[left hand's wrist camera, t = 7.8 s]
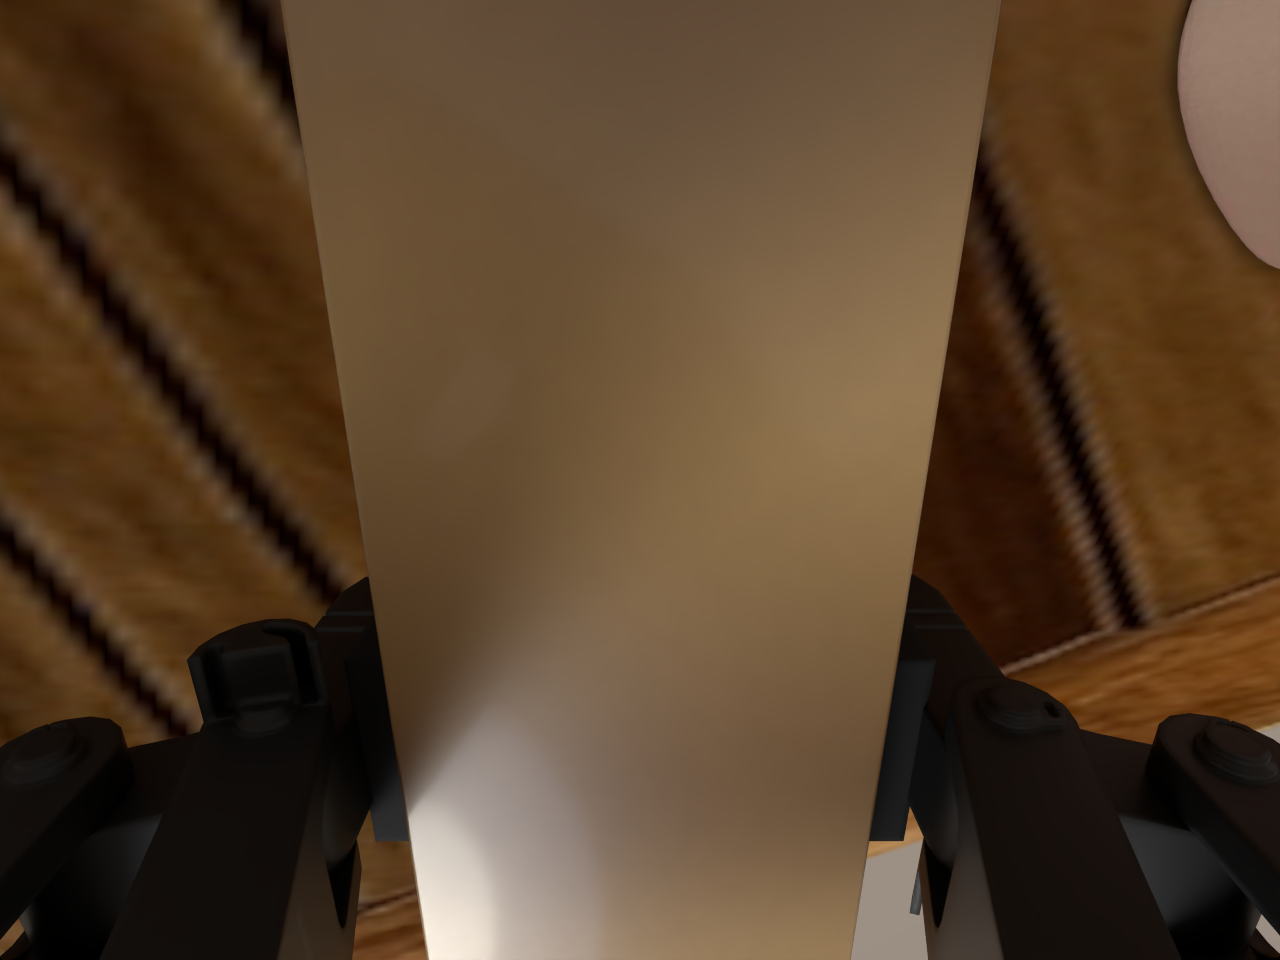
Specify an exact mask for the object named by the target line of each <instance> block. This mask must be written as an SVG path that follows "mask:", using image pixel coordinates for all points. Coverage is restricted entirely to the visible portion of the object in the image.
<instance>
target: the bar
mask: <svg viewBox="0 0 1280 960" xmlns="http://www.w3.org/2000/svg"><path fill="white" fill-rule="evenodd" d="M1001 1H1002V0H280V3H281V9H282V16H283V22H284V29H285V35H286V42H287V48H288V55H289V61H290V68H291V74H292V81H293V88H294V94H295V101H296V107H297V114H298V120H299V127H300V133H301V140H302V146H303V153H304V159H305V166H306V172H307V179H308V185H309V192H310V198H311V205H312V211H313V218H314V224H315V231H316V237H317V244H318V250H319V257H320V263H321V270H322V276H323V283H324V289H325V296H326V302H327V309H328V315H329V322H330V328H331V335H332V341H333V348H334V354H335V361H336V367H337V374H338V380H339V387H340V393H341V400H342V407H343V413H344V420H345V426H346V433H347V439H348V446H349V452H350V459H351V465H352V472H353V478H354V485H355V491H356V498H357V504H358V511H359V517H360V524H361V530H362V537H363V543H364V550H365V556H366V563H367V569H368V576H369V582H370V589H371V595H372V602H373V608H374V615H375V621H376V628H377V634H378V641H379V647H380V654H381V660H382V667H383V673H384V680H385V686H386V693H387V699H388V706H389V712H390V719H391V726H392V732H393V739H394V745H395V752H396V758H397V765H398V771H399V778H400V784H401V791H402V797H403V804H404V810H405V817H406V823H407V830H408V836H409V843H410V849H411V856H412V862H413V869H414V875H415V882H416V888H417V895H418V901H419V908H420V914H421V921H422V927H423V934H424V940H425V947H426V953H427V960H850V959H851V953H852V947H853V940H854V934H855V928H856V921H857V915H858V909H859V902H860V896H861V890H862V883H863V877H864V870H865V864H866V858H867V852H868V845H869V839H870V833H871V826H872V820H873V814H874V807H875V801H876V795H877V788H878V782H879V775H880V769H881V763H882V756H883V750H884V744H885V737H886V731H887V725H888V718H889V712H890V706H891V699H892V693H893V687H894V680H895V674H896V668H897V661H898V655H899V649H900V642H901V636H902V630H903V623H904V617H905V611H906V604H907V598H908V591H909V585H910V579H911V572H912V566H913V560H914V553H915V547H916V541H917V534H918V528H919V522H920V515H921V509H922V503H923V496H924V490H925V484H926V477H927V471H928V465H929V458H930V452H931V446H932V439H933V433H934V427H935V420H936V414H937V407H938V401H939V395H940V388H941V382H942V376H943V369H944V363H945V357H946V350H947V344H948V338H949V331H950V325H951V319H952V312H953V306H954V300H955V293H956V287H957V281H958V274H959V268H960V262H961V255H962V249H963V243H964V236H965V230H966V223H967V217H968V211H969V204H970V198H971V192H972V185H973V179H974V173H975V166H976V160H977V154H978V147H979V141H980V135H981V128H982V122H983V116H984V109H985V103H986V97H987V90H988V84H989V78H990V71H991V65H992V59H993V52H994V46H995V39H996V33H997V27H998V20H999V14H1000V8H1001Z"/></svg>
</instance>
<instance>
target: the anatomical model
mask: <svg viewBox="0 0 1280 960" xmlns="http://www.w3.org/2000/svg"><path fill="white" fill-rule="evenodd" d="M1178 95H1179V103H1180V110H1181V115H1182V119H1183V123H1184V127H1185V131H1186V135H1187V139H1188V142H1189V145H1190V148H1191V150H1192V153H1193V156H1194V158H1195V161H1196V164H1197V166H1198V169H1199V171H1200V173H1201V175H1202V177H1203V179H1204V181H1205V183H1206V185H1207V187H1208V189H1209V191H1210V192H1211V194H1212V196H1213V198H1214V200H1215V202H1216V204H1217V205H1218V207H1219V208H1220V210H1221V212H1222V213H1223V215H1224V216H1225V218H1226V220H1227V221H1228V223H1229V224H1230V226H1231V228H1232V229H1233V230H1234V231H1235V233H1236V234H1237V235H1238V237H1239V238H1240V239H1241V240H1242V242H1243V243H1244V244H1245V245H1246V247H1247V248H1248V249H1249V250H1250V251H1252V252H1253V253H1254V254H1255V255H1256V256H1257V257H1258V258H1259V259H1261V260H1262V261H1264V262H1265V263H1267V264H1269V265H1271V266H1273V267H1276V268H1278V269H1280V0H1192V2H1191V5H1190V8H1189V11H1188V14H1187V17H1186V20H1185V24H1184V28H1183V32H1182V37H1181V41H1180V48H1179V55H1178Z"/></svg>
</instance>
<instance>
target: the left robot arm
mask: <svg viewBox="0 0 1280 960" xmlns="http://www.w3.org/2000/svg"><path fill="white" fill-rule="evenodd" d="M187 662H188V666H189V670H190V673H191V677H192V681H193V684H194V688H195V692H196V695H197V699H198V703H199V706H200V710H201V714H202V717H203V721H204V723H203V725H202V727H201V730H200V732H197V733H194V734H190V735H186V736H183V737H178V738H173V739H168V740H164V741H159V742H154V743H149V744H144V745H140V746H135V747H130V748H128V747H127V744H126V741H125V738H124V735H123V732H122V729H121V727H120V726H118V725H117V724H116V723H115V722H113V721H112V720H111V719H105V718H98V717H83V718H75V719H67V720H62V721H58V722H54V723H51V724H50V725H48V724H47V725H44V726H41V727H38V728H35V729H33V730H31V731H30V732H28V733H26V734H24V735H22V736H20V737H18V738H16V739H14V740H12V741H10V742H7V743H6V744H5V745H3V746H2V747H0V939H1V938H2V937H3V936H4V935H5V934H6V932H7V931H8V930H9V929H10V928H11V926H12V925H13V924H14V923H15V922H16V920H17V919H18V918H19V919H20V921H21V923H22V926H23V928H24V930H25V931H24V932H23V933H22V934H21V936H20V937H19V938H18V939H17V940H16V942H15V943H14V944H13V945H12V946H11V947H10V948H9V949H8V950H7V951H6V952H5V953H3V954H2V955H1V956H0V960H352V954H353V945H354V936H355V926H356V917H357V908H358V899H359V889H360V880H361V871H362V867H361V860H360V854H359V848H358V843H357V836H358V834H359V832H360V829H361V827H362V825H363V823H364V820H365V818H366V816H367V814H368V811H369V809H370V812H371V817H372V823H373V828H374V834H375V840H376V841H409V836H408V830H407V823H406V817H405V810H404V804H403V797H402V791H401V784H400V778H399V771H398V765H397V758H396V752H395V745H394V739H393V732H392V726H391V719H390V712H389V706H388V699H387V693H386V686H385V680H384V673H383V667H382V660H381V654H380V647H379V641H378V634H377V628H376V621H375V615H374V608H373V602H372V595H371V589H370V582H369V577H365V578H363V579H362V580H360V581H359V582H357V583H356V584H354V585H353V586H351V587H349V588H348V589H346V590H345V591H343V592H342V593H340V595H339V596H338V597H337V598H336V600H335V601H334V602H333V604H332V605H331V606H330V608H329V609H328V610H327V612H326V616H323V617H322V618H321V619H320V621H319V622H318V623H317V625H316V626H315V627H314V628H313V627H312V626H310V625H309V624H308V623H306V622H302V621H297V620H293V619H266V620H262V621H257V622H252V623H248V624H243V625H240V626H238V627H235V628H233V629H230V630H227V631H225V632H222V633H220V634H218V635H216V636H215V637H213V638H211V639H210V640H208V641H207V642H205V643H204V644H202V645H200V646H199V647H198V648H197V649H196V650H195V652H194V653H193V654H192V655H191V656H190V657H189V658H188V660H187ZM909 807H911V809H912V812H913V814H914V816H915V818H916V821H917V823H918V825H919V827H920V830H921V832H922V834H923V836H924V838H923V843H922V848H921V854H920V859H919V864H918V869H917V875H916V880H915V885H914V890H913V895H912V902H911V908H910V913H912V914H916V915H919V914H920V909H921V904H922V906H923V915H924V924H925V934H926V943H927V952H928V960H1280V953H1278V952H1277V951H1276V950H1275V949H1274V948H1273V947H1272V946H1271V945H1270V944H1269V943H1268V942H1267V941H1266V940H1265V938H1264V937H1263V936H1262V935H1261V933H1260V932H1259V931H1258V930H1257V929H1256V925H1257V923H1258V921H1259V919H1260V916H1261V914H1262V915H1263V916H1264V917H1265V918H1266V920H1267V921H1268V922H1269V923H1270V924H1271V926H1272V927H1273V928H1274V929H1275V930H1276V931H1277V933H1278V934H1279V935H1280V744H1279V743H1278V742H1276V741H1275V740H1273V739H1272V738H1270V737H1267V736H1265V735H1263V734H1261V733H1259V732H1257V731H1255V730H1253V729H1251V728H1250V727H1248V726H1246V725H1243V724H1240V723H1237V722H1235V721H1229V720H1228V719H1224V718H1220V717H1215V716H1207V715H1200V714H1192V713H1188V714H1180V715H1173V716H1169V717H1168V718H1166V719H1165V720H1164V721H1163V722H1161V723H1160V724H1159V726H1158V729H1157V732H1156V735H1155V738H1154V741H1153V744H1152V745H1151V744H1146V743H1141V742H1136V741H1131V740H1126V739H1122V738H1117V737H1112V736H1107V735H1102V734H1097V733H1094V732H1090V731H1086V730H1083V729H1080V728H1079V726H1078V724H1077V721H1076V720H1075V719H1074V717H1073V716H1072V715H1071V713H1070V712H1069V711H1068V709H1067V708H1066V707H1065V706H1064V705H1063V704H1062V703H1060V702H1059V701H1058V700H1056V699H1055V698H1053V697H1052V696H1051V695H1049V694H1048V693H1047V692H1044V691H1042V690H1040V689H1038V688H1036V687H1033V686H1031V685H1029V684H1027V683H1025V682H1021V681H1017V680H1013V679H1009V678H1006V677H1005V676H1004V675H1003V673H1002V672H1001V671H1000V669H999V668H998V667H997V666H996V664H995V663H994V662H993V660H992V659H991V658H990V656H989V655H988V654H987V653H986V651H985V650H984V649H983V647H982V646H981V645H980V643H979V642H978V641H977V640H976V638H975V637H974V636H973V634H972V633H971V632H970V630H966V625H965V624H964V623H963V621H962V620H961V619H960V617H959V616H958V615H957V614H954V610H953V608H952V607H951V606H950V604H949V603H948V602H947V600H946V599H945V598H944V597H943V595H942V594H941V593H940V591H939V590H937V589H935V588H934V587H932V586H931V585H929V584H928V583H926V582H925V581H923V580H921V579H920V578H918V577H917V576H915V575H911V579H910V585H909V591H908V598H907V604H906V611H905V617H904V623H903V630H902V636H901V642H900V649H899V655H898V661H897V668H896V674H895V680H894V687H893V693H892V699H891V706H890V712H889V718H888V725H887V731H886V737H885V744H884V750H883V756H882V763H881V769H880V775H879V782H878V788H877V795H876V801H875V807H874V814H873V820H872V826H871V833H870V839H869V841H904V835H905V830H906V824H907V819H908V813H909Z"/></svg>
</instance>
